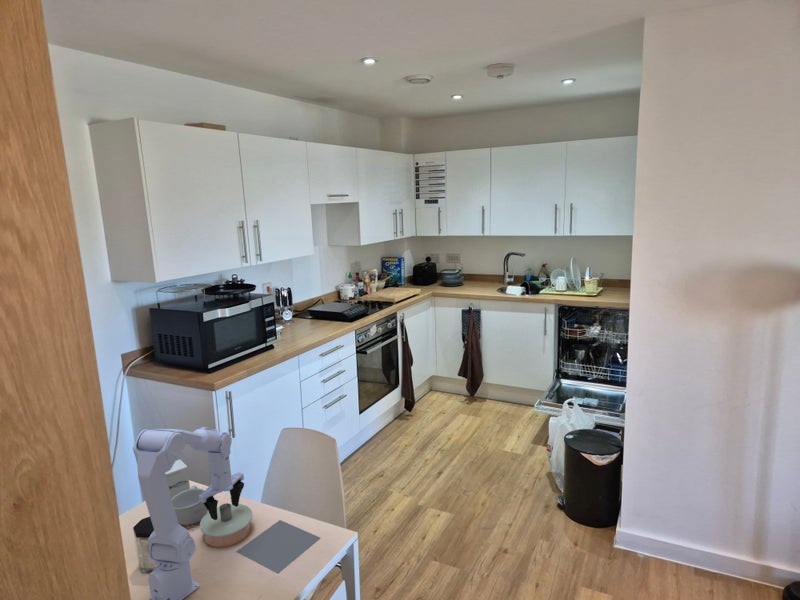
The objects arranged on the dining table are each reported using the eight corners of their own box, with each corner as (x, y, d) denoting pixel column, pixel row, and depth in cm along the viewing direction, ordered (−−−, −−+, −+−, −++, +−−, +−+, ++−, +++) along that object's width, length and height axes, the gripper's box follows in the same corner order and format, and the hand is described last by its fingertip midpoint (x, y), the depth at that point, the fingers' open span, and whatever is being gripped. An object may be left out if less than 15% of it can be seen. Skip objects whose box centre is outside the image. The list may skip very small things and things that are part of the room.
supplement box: (169, 509, 169) (164, 474, 167) (162, 500, 175) (157, 466, 172) (192, 500, 174) (187, 466, 172) (184, 491, 180) (180, 458, 177)
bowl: (223, 553, 147) (221, 539, 146) (195, 538, 154) (193, 525, 153) (258, 528, 157) (257, 515, 157) (230, 516, 164) (229, 503, 164)
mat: (278, 575, 138) (277, 573, 137) (236, 553, 147) (236, 551, 147) (320, 539, 151) (320, 537, 151) (280, 521, 161) (280, 519, 161)
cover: (223, 543, 144) (221, 527, 144) (189, 527, 152) (187, 512, 151) (262, 514, 157) (261, 500, 156) (229, 501, 165) (227, 487, 164)
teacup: (201, 530, 158) (198, 506, 156) (166, 530, 158) (163, 507, 157) (217, 503, 172) (215, 481, 170) (185, 504, 172) (182, 482, 170)
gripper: (207, 485, 143) (213, 529, 146) (248, 462, 155) (252, 503, 158) (192, 479, 147) (197, 521, 150) (233, 457, 159) (237, 496, 162)
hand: (225, 511), depth 154 cm, fingers open, 7 cm apart
